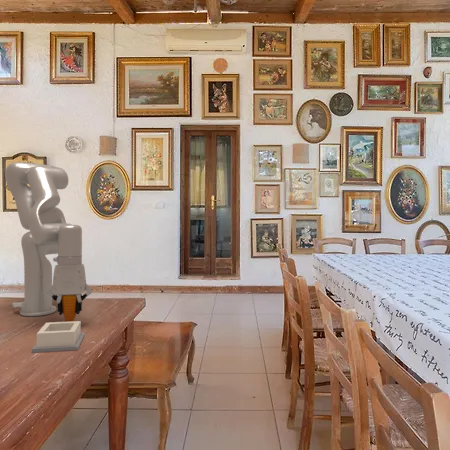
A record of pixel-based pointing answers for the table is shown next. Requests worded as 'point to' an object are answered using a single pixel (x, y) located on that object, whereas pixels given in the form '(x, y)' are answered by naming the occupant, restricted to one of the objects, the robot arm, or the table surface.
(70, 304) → the carrot
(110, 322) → the table surface
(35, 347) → the holder
